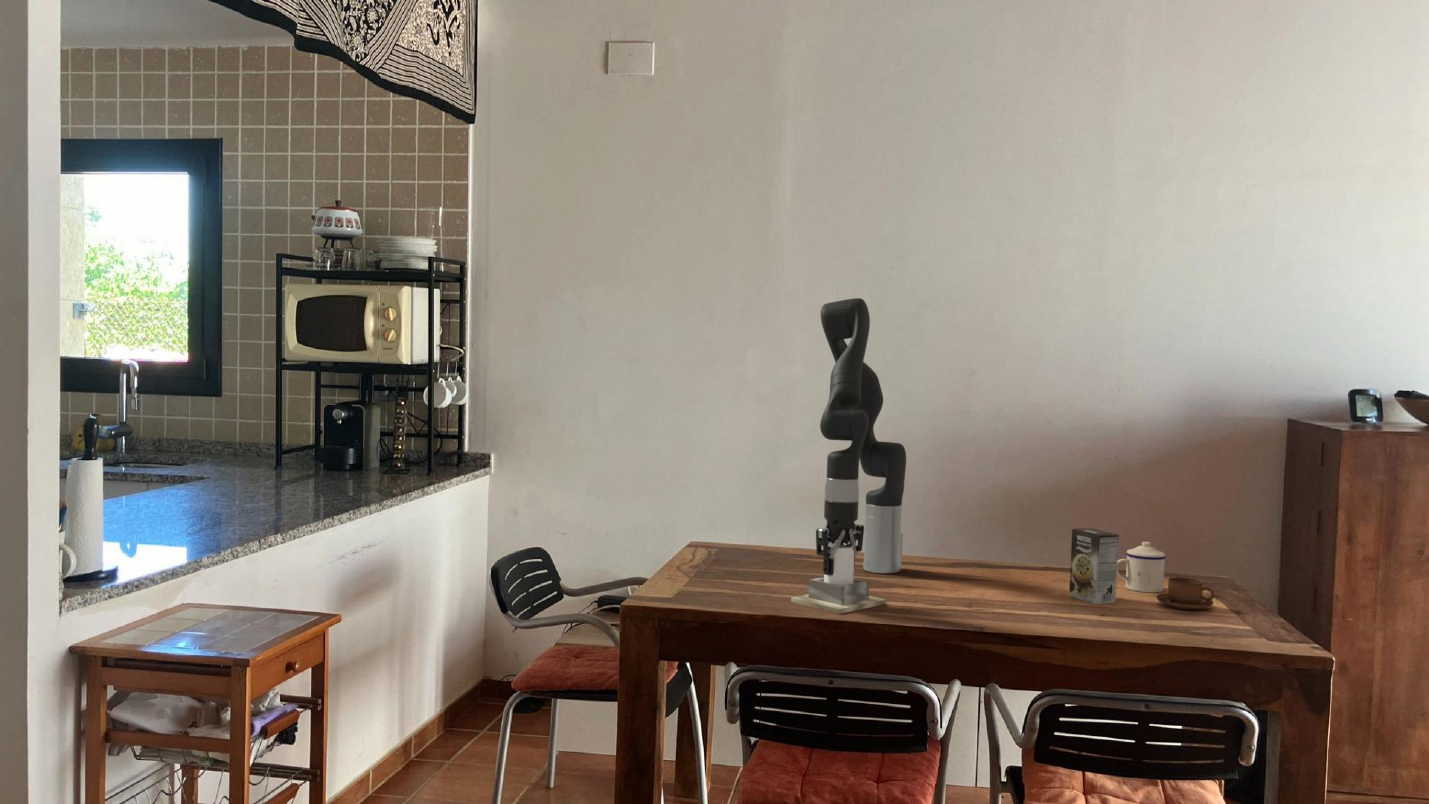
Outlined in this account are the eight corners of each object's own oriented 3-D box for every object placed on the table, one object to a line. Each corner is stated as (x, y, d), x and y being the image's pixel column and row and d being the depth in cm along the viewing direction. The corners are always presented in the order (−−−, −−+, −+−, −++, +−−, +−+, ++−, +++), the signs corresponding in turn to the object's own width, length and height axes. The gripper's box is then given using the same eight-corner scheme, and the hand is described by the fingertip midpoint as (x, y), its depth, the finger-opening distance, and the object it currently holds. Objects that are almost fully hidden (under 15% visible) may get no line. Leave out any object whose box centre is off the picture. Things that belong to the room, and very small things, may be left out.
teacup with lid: (1155, 586, 279) (1158, 539, 278) (1169, 593, 270) (1172, 546, 269) (1107, 584, 279) (1109, 538, 278) (1120, 592, 270) (1122, 544, 269)
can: (851, 602, 245) (853, 548, 245) (821, 600, 246) (823, 546, 246) (853, 596, 251) (855, 543, 251) (824, 594, 253) (826, 541, 252)
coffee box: (1067, 596, 264) (1070, 528, 263) (1088, 594, 266) (1092, 527, 265) (1094, 604, 255) (1098, 534, 254) (1116, 603, 258) (1120, 533, 257)
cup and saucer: (1206, 603, 261) (1208, 577, 260) (1218, 615, 249) (1219, 587, 249) (1152, 599, 263) (1153, 573, 263) (1161, 610, 251) (1162, 583, 251)
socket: (837, 592, 260) (838, 571, 259) (885, 604, 249) (886, 581, 249) (790, 602, 249) (791, 579, 248) (839, 614, 238) (839, 590, 238)
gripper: (849, 494, 256) (846, 567, 256) (807, 498, 246) (804, 573, 246) (875, 498, 250) (872, 572, 251) (833, 502, 240) (830, 579, 241)
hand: (838, 572), depth 249 cm, fingers closed on can, 6 cm apart
